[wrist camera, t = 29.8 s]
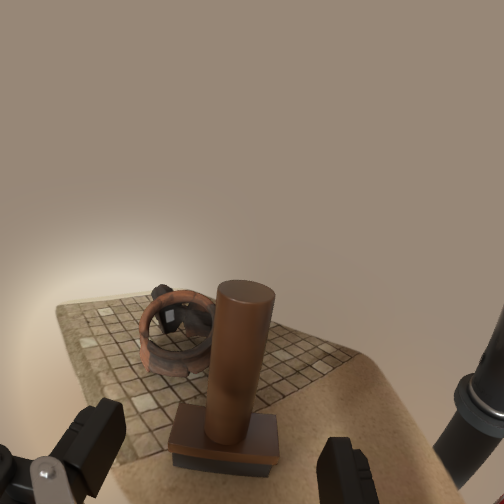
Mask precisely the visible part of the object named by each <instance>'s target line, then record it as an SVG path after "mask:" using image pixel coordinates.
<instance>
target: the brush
mask: <svg viewBox="0 0 504 504" xmlns="http://www.w3.org/2000/svg"><path fill="white" fill-rule="evenodd" d="M274 301H275V293H274V291H273V290H272V289H271V288H269V287H267V286H265V285H263V284H260V283H257V282H252V281H247V280H230V281H225V282H222V283H221V284H219V286H218V289H217V298H216V306H215V316H214V325H213V335H212V345H211V355H210V365H209V376H208V387H207V399H206V407H204V406H198V405H192V404H186V403H179V406H178V409H177V413H176V416H175V419H174V423H173V426H172V430H171V433H170V437H169V441H168V451H169V452H172V457H173V466H176V467H181V468H187V469H192V470H199V471H205V472H212V473H220V474H229V475H239V476H251V477H268V475H269V472H270V470H271V467H272V465H277V462H278V460H279V457H280V455H279V443H278V431H277V419H276V415H274V414H262V413H252V410H253V406H254V401H255V396H256V392H257V387H258V382H259V377H260V372H261V368H262V363H263V358H264V353H265V348H266V343H267V338H268V332H269V327H270V322H271V317H272V311H273V306H274Z"/></svg>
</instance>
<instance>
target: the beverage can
mask: <svg viewBox="0 0 504 504" xmlns="http://www.w3.org/2000/svg"><path fill="white" fill-rule="evenodd" d="M494 504H504V494H503V495H502V496H501V497H500V498H499V499H498V500H497V501H496V502H495V503H494Z"/></svg>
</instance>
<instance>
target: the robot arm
mask: <svg viewBox="0 0 504 504" xmlns="http://www.w3.org/2000/svg"><path fill="white" fill-rule="evenodd" d="M483 354H484V355H482V356H483V357H481V358H482V359H481V361H480V363H479V365H478V367H477V369H476V371H475V373H474V375H473V376H472V378H471V379H470V381H469V383H468V386H467V393H468V396H469V398H470V400H471V401H472V402H473V404H474V405H475V406H476V407H477V408H478V409H479V410H480V411H482V412H483V413H484V414H486V415H488V416H489V417H491V418H494V419H496V420H499V421H504V306H503V309H502V311H501V314H500V317H499V319H498V322H497V324H496V327H495V329H494V332H493V334H492V337H491V339H490V341H489V344H488V346H487V348H486V350H485V353H483ZM125 436H126V423H125V417H124V411H123V405H122V403H120V402H117V401H113V400H110V399H107V398H102V399H101V400H100V402H99V403H98V405H97V406H96V407H93V406H88V407H86V408H85V409H83V410H81V411H80V412H79V413H78V415H77V416H76V418H75V419H74V422H72V423H71V425H70V426H69V429H67V430H66V432H65V433H64V435H63V436H62V438H61V439H60V441H59V442H58V443H57V445H56V446H55V448H54V449H53V451H52V452H51V454H50V455H49V456H42V457H39V458H37V459H35V460H29V459H25V458H21V457H17V456H13V455H12V454H11V452H10V451H9V449H8V448H6V447H5V446H4V445H1V444H0V504H84V500H85V498H86V496H87V495H88V496H91V497H93V498H96V497H97V495H98V492H99V490H100V488H101V486H102V484H103V482H104V480H105V478H106V476H107V474H108V472H109V470H110V468H111V466H112V464H113V462H114V460H115V458H116V456H117V454H118V451H119V449H120V447H121V445H122V443H123V441H124V439H125ZM316 473H317V482H318V490H319V499H320V504H380V503H379V500H378V496H377V492H376V488H375V485H374V481H373V479H372V474H371V471H370V466H369V463H368V459H367V458H366V456H365V455H364V454H363V453H362V451H361V450H360V449H353V448H352V444H351V441H350V438H349V437H329V438H328V440H327V442H326V444H325V446H324V448H323V450H322V452H321V454H320V456H319V458H318V461H317V467H316Z"/></svg>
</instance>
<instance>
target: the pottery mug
mask: <svg viewBox="0 0 504 504" xmlns="http://www.w3.org/2000/svg"><path fill="white" fill-rule="evenodd" d="M151 295H152V298H153V300H154V301H153V302H151V303H150V304H149V305H148V307H147V308H146V309H145V311H144V312H143V314H142V316H141V319H140V322H139V333H140V344H141V348H140V358H141V361H142V363H143V365H144V367H145V368H146V370H147V371H148V372H150V371H151V372H153V373H157V374H160V375H166V376H172V377H188V376H189V374H190V372H192V373H193V374H197V373H199V372H202V371H203V370H204V369H206V368H208V367H209V365H210V355H211V345H212V335H213V325H214V316H215V306H216V305H215V304H213V302H212V301H211V300H210V299H208V298H207V297H206V296H204V295H202V294H200V293H195V292H194V291H187V290H178V291H173V289H172V288H170V287H168V286H167V285H163V284H160V285H159V286H158V287H155V288H154V289H153V291H152V293H151ZM182 303H189V305H188V306H186V305H181V304H182ZM154 315H155V317H156V319H157V320H158V322H159V325H160V328H161V330H162V333H163V334H168V333H170V332H175V331H176V330H177V328H178V327H179V326H180V324H181V323H182V322H183V323H184V327H185V329H186V335H187V337H193V336H206V337H207V338H206V339H205V340H204V341H203V342H201V343H200V344H199V345H198V346H196V347H194V348H192V349H189V350H185V351H180V352H179V351H168V350H164V349H162V348H160V347H158V346H157V345H156V344H155V343H153V341H151V340H149V339H148V336H149V326H150V322H151V320H152V318H153V317H154Z"/></svg>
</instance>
